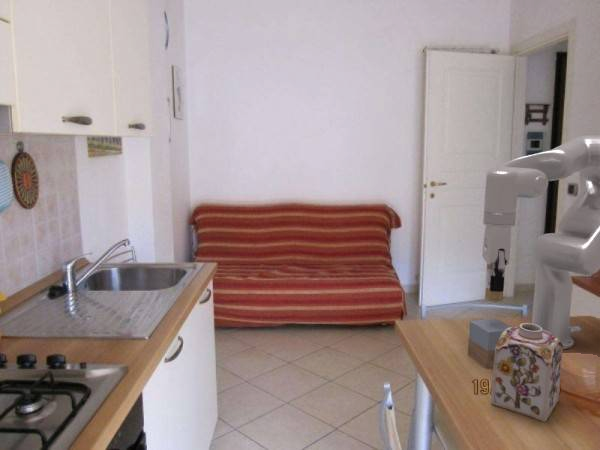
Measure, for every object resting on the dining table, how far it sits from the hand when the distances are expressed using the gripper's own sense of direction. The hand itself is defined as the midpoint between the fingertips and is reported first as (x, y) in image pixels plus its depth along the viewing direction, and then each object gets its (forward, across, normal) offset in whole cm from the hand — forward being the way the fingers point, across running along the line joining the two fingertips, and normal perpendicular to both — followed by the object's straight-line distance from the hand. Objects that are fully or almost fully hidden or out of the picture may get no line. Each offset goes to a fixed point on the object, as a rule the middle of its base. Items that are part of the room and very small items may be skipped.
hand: (494, 287), depth 129 cm
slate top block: (+15, 0, 0) cm, 15 cm away
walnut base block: (+20, 0, 0) cm, 20 cm away
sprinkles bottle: (+4, 0, 0) cm, 4 cm away
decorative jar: (+20, +21, +4) cm, 30 cm away
